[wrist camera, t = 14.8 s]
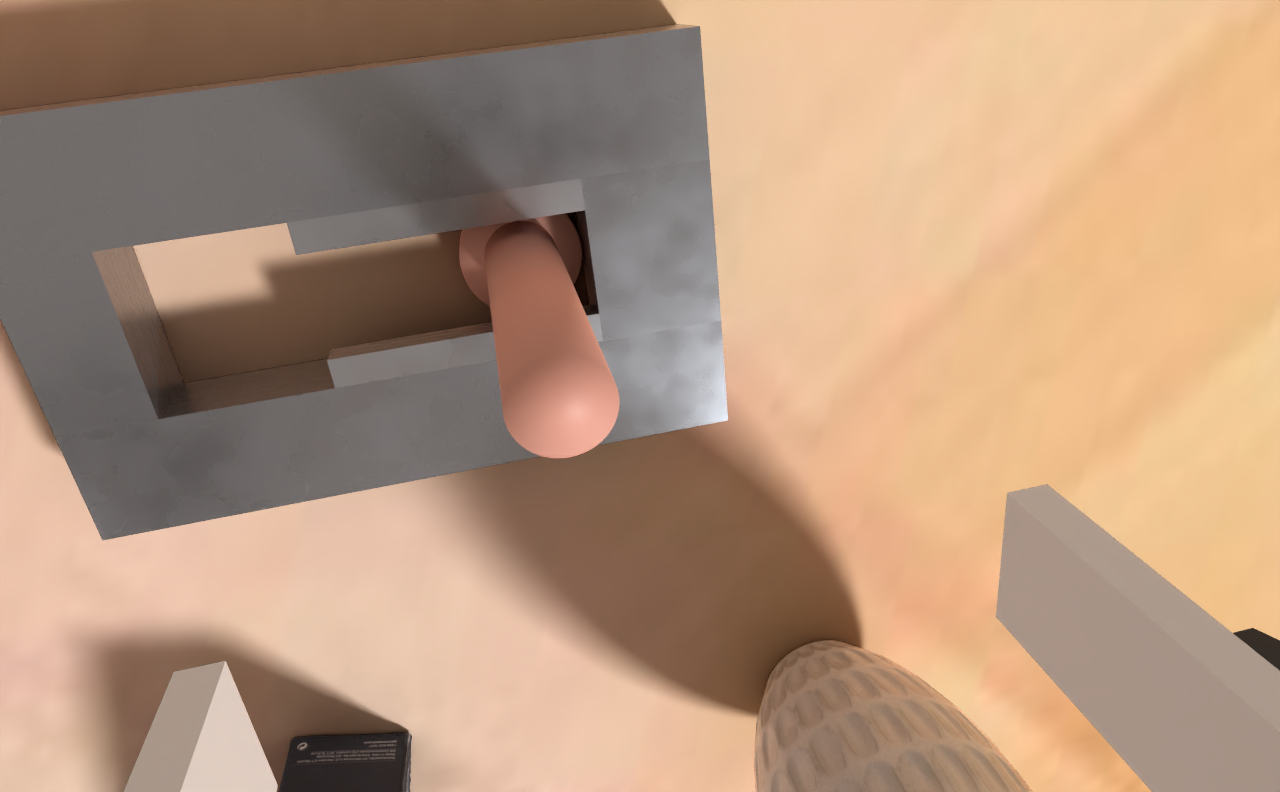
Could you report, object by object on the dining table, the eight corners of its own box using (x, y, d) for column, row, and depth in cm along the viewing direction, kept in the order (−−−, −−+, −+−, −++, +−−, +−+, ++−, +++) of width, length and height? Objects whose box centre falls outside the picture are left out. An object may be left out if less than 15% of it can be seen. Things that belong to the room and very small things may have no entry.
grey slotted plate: (131, 495, 37) (102, 540, 34) (-33, 114, 30) (-89, 127, 27) (707, 388, 41) (728, 420, 38) (676, 24, 34) (699, 26, 31)
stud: (470, 314, 37) (480, 507, 23) (448, 198, 35) (444, 330, 20) (584, 296, 38) (664, 473, 23) (570, 182, 35) (648, 299, 21)
